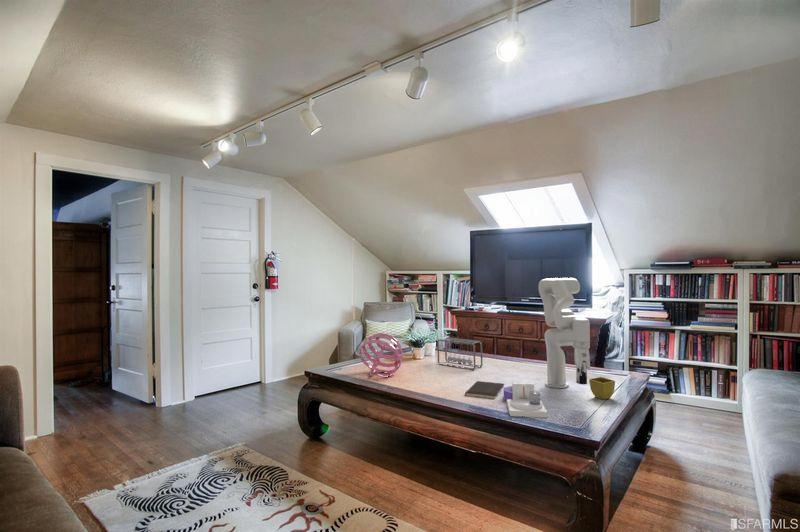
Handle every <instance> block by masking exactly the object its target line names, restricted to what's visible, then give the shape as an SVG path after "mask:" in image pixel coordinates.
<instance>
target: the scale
mask: <svg viewBox="0 0 800 532" xmlns="http://www.w3.org/2000/svg"><path fill="white" fill-rule="evenodd" d="M511 386H512V390H513V400H512V399H507V401H506V406H507V410H508V414H509V416H510V417H522V416H523V417H524V416H525V417H527V418H548V410H547V409H546V407H545V405H544V404H543V401H542V400H541V399H540V405H532V404H530V392H531V391H535V383H534V382H512V383H511Z"/></svg>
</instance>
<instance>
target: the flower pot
mask: <svg viewBox="0 0 800 532" xmlns="http://www.w3.org/2000/svg"><path fill="white" fill-rule="evenodd" d="M588 381H589V387H590V391H591V393H592V395H593V396H594V397H595V398H597V399H599V400H600V399H601V400H606V399H611V397H612V396H613V394H614V393H615V389H616V388H615V387H616V380H614V379H611V378H606V377H602V376H598V377H594V378H589V379H588Z"/></svg>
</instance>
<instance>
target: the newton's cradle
mask: <svg viewBox="0 0 800 532" xmlns="http://www.w3.org/2000/svg"><path fill="white" fill-rule="evenodd" d="M440 342H444V353H445V354H444V355H445V356H444V357H445V362H447V361H451V362H458V363H463V364H469V365H474V366H473V367H469V365H468V367H466V366H463V367H464V368H469V369H474V370H476V366H478V367H477V368H482V367H483V365H484V364H483V343H482V342H481V340H473V339H465V338H458V337H457V338H454V337H445V338H443V339H438V340H437V363H438V364H439V363H441V362H440ZM449 343H451V344H449ZM477 343H479V344H480V346H479V347H480V365H478V364H476V345H475V344H477ZM453 344H456V345H459V344H460V345H461V346H460V348H459V349H460V351H461V347H462V348H464V349H466V347H467V348H469V347H470V348H469V349H470V350H471V346H472V347H473V359H472V358H471V357H468V358H466V357H460V356H458V357H457V356H456V350H457V349H455V350H454V346H453ZM447 345H448V347H450V346H453V348H452V349H453V350H454V356H452V354H451V350H448V349H447V348H448V347H447ZM449 345H450V346H449ZM463 345H465V346H463ZM466 345H467V346H466ZM468 345H469V347H468ZM459 349H458V353H460V351H459ZM447 351H448V352H449V353H447ZM462 352H463V355H465V351H462ZM467 353H468V354H470V351H467ZM448 354H449V356H448ZM446 364H447V365H450V364H448V363H446ZM451 365H452V366H456V364H451ZM457 366H458V367H462V366H460V365H457ZM479 366H480V367H479ZM469 369H468V370H469Z"/></svg>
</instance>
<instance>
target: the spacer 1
mask: <svg viewBox="0 0 800 532" xmlns="http://www.w3.org/2000/svg"><path fill="white" fill-rule="evenodd" d="M540 400H541V393H540V391H536V390H534V391H531V392H530V404H532V405H540Z"/></svg>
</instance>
